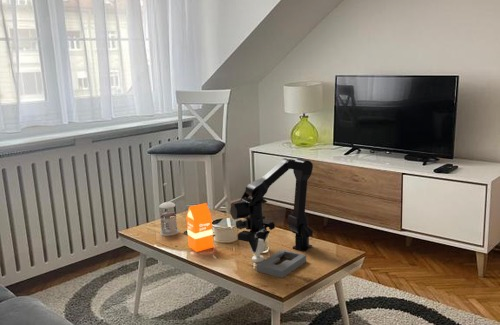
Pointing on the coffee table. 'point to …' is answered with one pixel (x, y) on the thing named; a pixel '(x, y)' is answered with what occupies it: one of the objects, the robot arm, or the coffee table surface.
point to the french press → (168, 219)
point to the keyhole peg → (258, 252)
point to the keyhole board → (284, 267)
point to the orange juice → (199, 227)
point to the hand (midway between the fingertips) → (257, 250)
